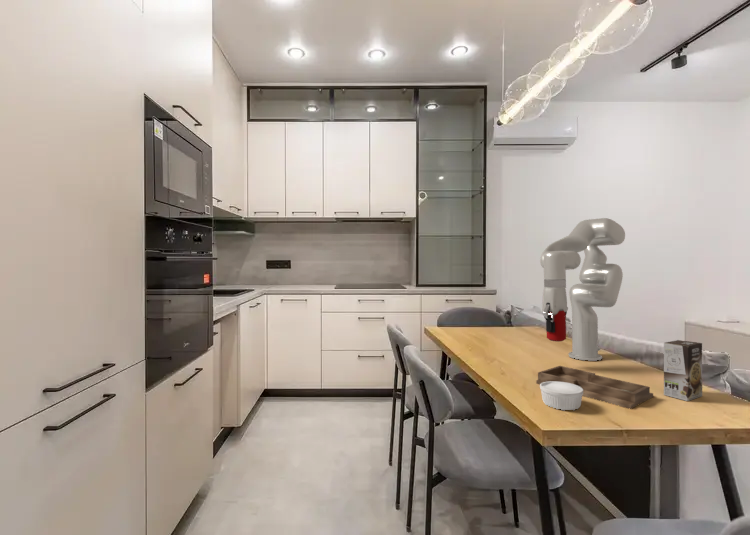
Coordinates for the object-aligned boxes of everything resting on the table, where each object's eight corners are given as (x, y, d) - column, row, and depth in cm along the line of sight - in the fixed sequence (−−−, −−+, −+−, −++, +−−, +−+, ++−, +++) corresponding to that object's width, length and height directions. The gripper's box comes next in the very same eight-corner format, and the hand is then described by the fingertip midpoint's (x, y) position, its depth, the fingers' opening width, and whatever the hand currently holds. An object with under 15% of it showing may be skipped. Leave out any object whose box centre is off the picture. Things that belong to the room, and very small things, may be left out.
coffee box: (688, 401, 107) (688, 346, 107) (662, 395, 113) (662, 342, 113) (703, 396, 111) (703, 342, 111) (678, 390, 117) (677, 339, 117)
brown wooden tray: (536, 383, 125) (536, 372, 125) (561, 374, 134) (561, 365, 134) (630, 408, 102) (630, 396, 102) (653, 396, 112) (653, 385, 111)
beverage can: (562, 338, 145) (561, 307, 145) (569, 342, 138) (568, 310, 138) (544, 338, 146) (543, 307, 145) (550, 342, 139) (549, 310, 139)
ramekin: (548, 395, 114) (548, 378, 114) (589, 404, 106) (588, 386, 106) (533, 405, 106) (533, 386, 106) (575, 416, 98) (575, 396, 98)
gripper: (557, 282, 149) (558, 326, 150) (532, 285, 139) (534, 332, 140) (576, 282, 143) (577, 328, 144) (552, 286, 133) (553, 335, 134)
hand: (556, 330), depth 142 cm, fingers closed on beverage can, 6 cm apart
